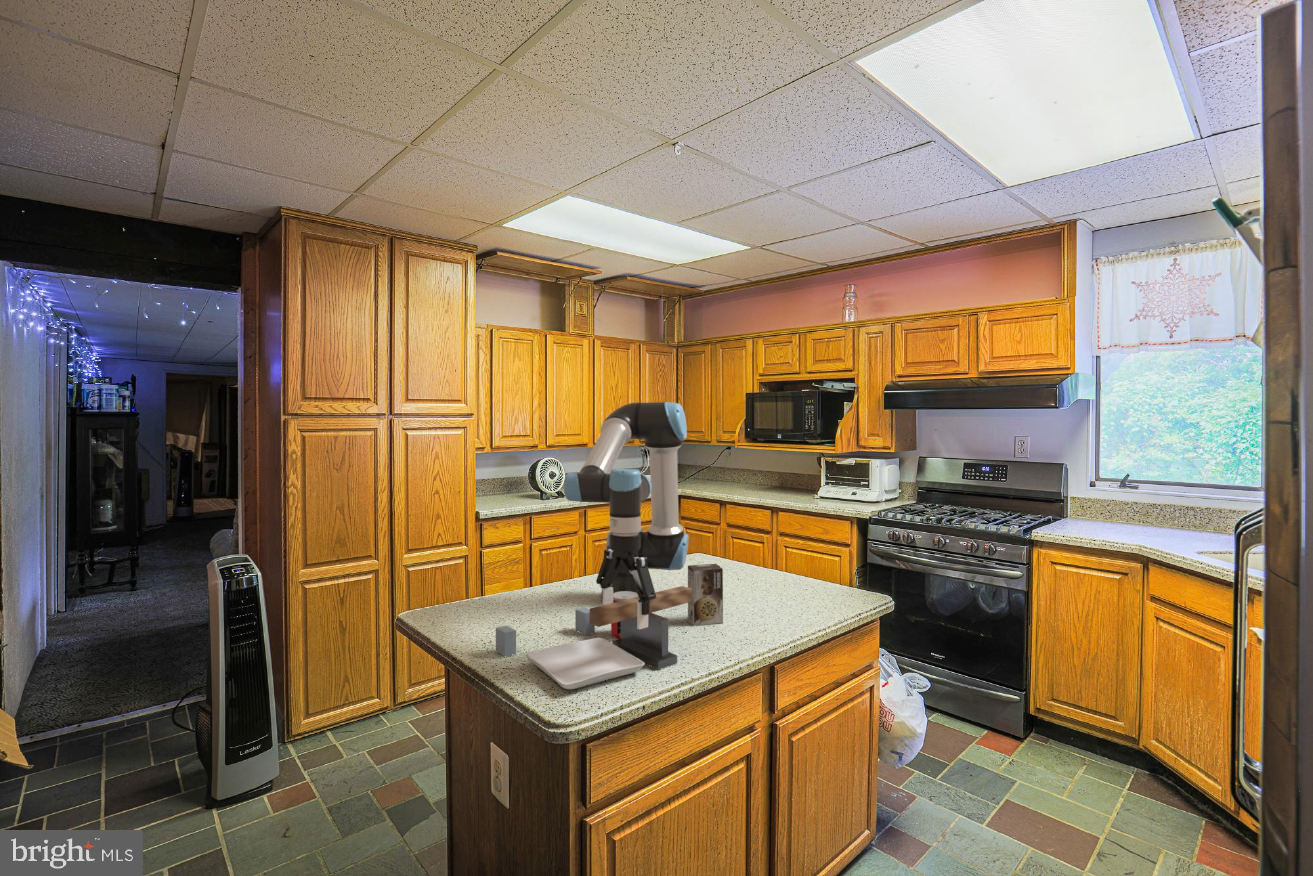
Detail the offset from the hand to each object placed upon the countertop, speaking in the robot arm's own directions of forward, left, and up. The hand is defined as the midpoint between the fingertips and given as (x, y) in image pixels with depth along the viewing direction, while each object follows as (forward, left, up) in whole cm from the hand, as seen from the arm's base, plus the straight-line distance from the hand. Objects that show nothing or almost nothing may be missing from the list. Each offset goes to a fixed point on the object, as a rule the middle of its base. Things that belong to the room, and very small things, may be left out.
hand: (624, 620), depth 150 cm
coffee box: (-37, -9, -10) cm, 39 cm away
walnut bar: (-6, 0, +1) cm, 6 cm away
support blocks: (+7, -24, -10) cm, 27 cm away
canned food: (-12, -15, -10) cm, 22 cm away
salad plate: (+10, -2, -11) cm, 15 cm away
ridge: (-6, 0, -10) cm, 12 cm away
